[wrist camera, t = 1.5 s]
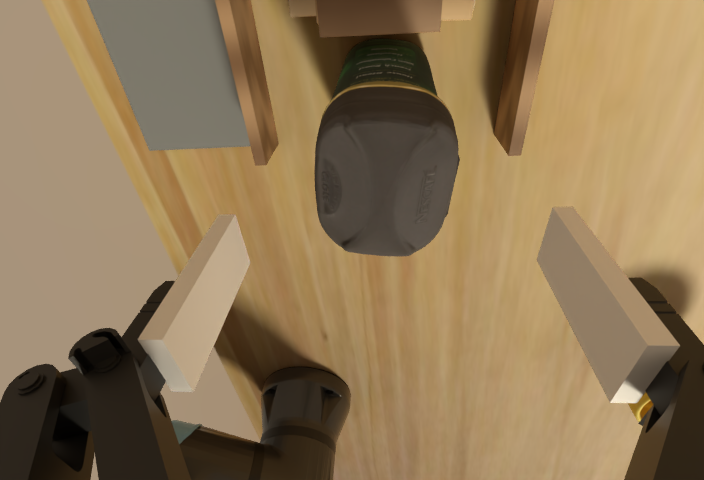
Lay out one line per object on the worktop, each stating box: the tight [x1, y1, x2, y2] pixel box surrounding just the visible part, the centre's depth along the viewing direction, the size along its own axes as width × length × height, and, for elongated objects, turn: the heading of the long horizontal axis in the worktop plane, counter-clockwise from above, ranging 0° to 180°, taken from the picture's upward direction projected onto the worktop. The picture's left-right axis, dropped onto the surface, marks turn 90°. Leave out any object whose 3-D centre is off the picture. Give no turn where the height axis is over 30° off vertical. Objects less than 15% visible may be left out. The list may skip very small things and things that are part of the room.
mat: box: [87, 0, 250, 151], centre depth 33 cm, size 14×11×1 cm
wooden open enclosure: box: [215, 0, 554, 165], centre depth 29 cm, size 16×23×5 cm
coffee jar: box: [315, 39, 460, 256], centre depth 26 cm, size 10×8×19 cm
